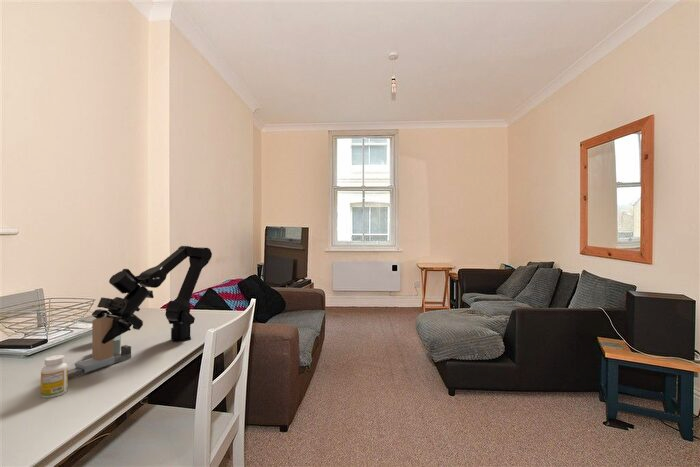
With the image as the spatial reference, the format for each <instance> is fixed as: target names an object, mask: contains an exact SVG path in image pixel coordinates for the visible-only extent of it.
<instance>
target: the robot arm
mask: <svg viewBox="0 0 700 467" xmlns="http://www.w3.org/2000/svg"><path fill="white" fill-rule="evenodd" d="M212 257H213V252H212V250H211V248H209V247H198V246H197V247H193V246H190V245H180V246H178V248H177V249H176V250H174V252H172V253H171V254H170V255H169V256H167V257H166V258H165V259H163V260H162V261H161V262H160V263H159V264H157V265H156V266H154V267H151V268H147V269H146V270H144V271H142V272H141V273H139V275H135V274H133V273H132V271H131V270H130V269H129V268H123V269H122V270H121V271H118V272H117V273H115V274H113V275H111V277H110V278H109V280H108V283H109V284H110V285H111V286H112V287H113V288H114V289H116V290H117V291H118V292H120V294H123V295H124V294H125V296H124V297H118V296H116V297H114V298H109V297H108V298H107V297H101V298H100V299H99V302H98V304H97V306H96V307H97V308H103V309H95V310H94V311H93V312H92V313H91V316H92V317H94V318H95V319H99V318H103V317H109V318H113V324H112V327H111V329H110V330H109V331H108V333H107V334H106V336H105V337H104V339H103V340H102V343H103V344H105V343H107V342H109V341H110V340H112V339H114V338H115V337H117V336H119V335H121V336H122V335H123V334H125V333H126V332H128V331H131V330H132V329H133V330H137V331H140V329H141V328H142V327H143V325H144V320H142V319H141V318H139V317H138V316H137V315H136V314H135V312H140V310H141V309H140V307H141V305H142V304H143V302H145V300H146V299H154V297H155V296H154V292H153V290H150V289H151V288H152V289H155V288H156V289H157V288H159V287H161V285H162V284H163V283H164V282H165V281H166V278H167V275H168V274H169V273H170V272H171V271H173V270H174V269H175V268H176V267H178V266H179V265H180V264H181V263H183V261H184V260H186V259H187V258H188V261H189V267H188V270H187V272H186V275H185V277H184V279H183V281H182V284H181V287H180V289H179V292H178V295H177V297H176V298H175V299H174V300H169V301H168V304H167V307H166V308H165V310H164V311H165V315H164V316H165V317H166V320H167V321H168V324H170V325H172V327H171V328H170V340H172V342H173V343H174V342H181V341H182V342H183V341H189V340H192V337H191V325H192V324H194V323H195V319H196V318H195V317H194V316H193V314H191V303H190V302H191V299H192V298H191V297H192V296H193V293H194V290H195V287H196V286H197V283H198V280H199V278H200V275H201V273H202V270H203V268H205V267H206V266H207V265H208V264H209V262H210V260H211V259H212ZM148 288H150V289H148ZM110 313H112V314H110ZM131 327H132V329H131Z"/></svg>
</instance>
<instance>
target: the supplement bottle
mask: <svg viewBox="0 0 700 467" xmlns="http://www.w3.org/2000/svg"><path fill="white" fill-rule="evenodd" d="M68 368H69V367H68V364H67V363H66V362H65V355H64V354H58V355H55V354H54V355H52V356H48V357H45V358H44V366H42V368H41V370H40V397H41V398H44V399H49V398H54V397H58V396H62V395H63V394H65V393H66V392H68V390H69V389H68V386H69V385H68V381H69V379H68Z"/></svg>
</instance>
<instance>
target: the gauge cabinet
mask: <svg viewBox="0 0 700 467" xmlns="http://www.w3.org/2000/svg"><path fill="white" fill-rule="evenodd" d="M121 343H122V334H121V335H119V336H117V337H115V338H114V339H113V356H114V355H117V354H120V353H121V346H122V345H121Z"/></svg>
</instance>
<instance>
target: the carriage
mask: <svg viewBox="0 0 700 467" xmlns="http://www.w3.org/2000/svg"><path fill="white" fill-rule="evenodd" d="M91 322H92V323H91V324H92V326H91V328H92V329H91V330H92V340H91V341H92V343H91V346H92V347H91V348H92V350H91V351H92V353H91V357H90V358H87V359H85V360H80V361H77V362H75V363H74V367H75V368H77V367H79V368H83V369H84V372H88V371H91V370H94V369H97V368H100V367H103V366H106V365H109V364H112V363H114V360H115V357H114V355H113V339H112V340H110V341H109V342H107V343H105V344H103V343H102V340H103V339H104V337H105V336H106V334H107V333H108V331H109V330H110V329H111V327H112V324H113V318H109V317H103V318H99V319H96V318H95V319H92V320H91ZM112 365H113V364H112ZM109 366H110V365H109ZM106 367H107V366H106ZM103 368H104V367H103ZM100 369H101V368H100ZM97 370H98V369H97ZM94 371H95V370H94Z"/></svg>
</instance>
